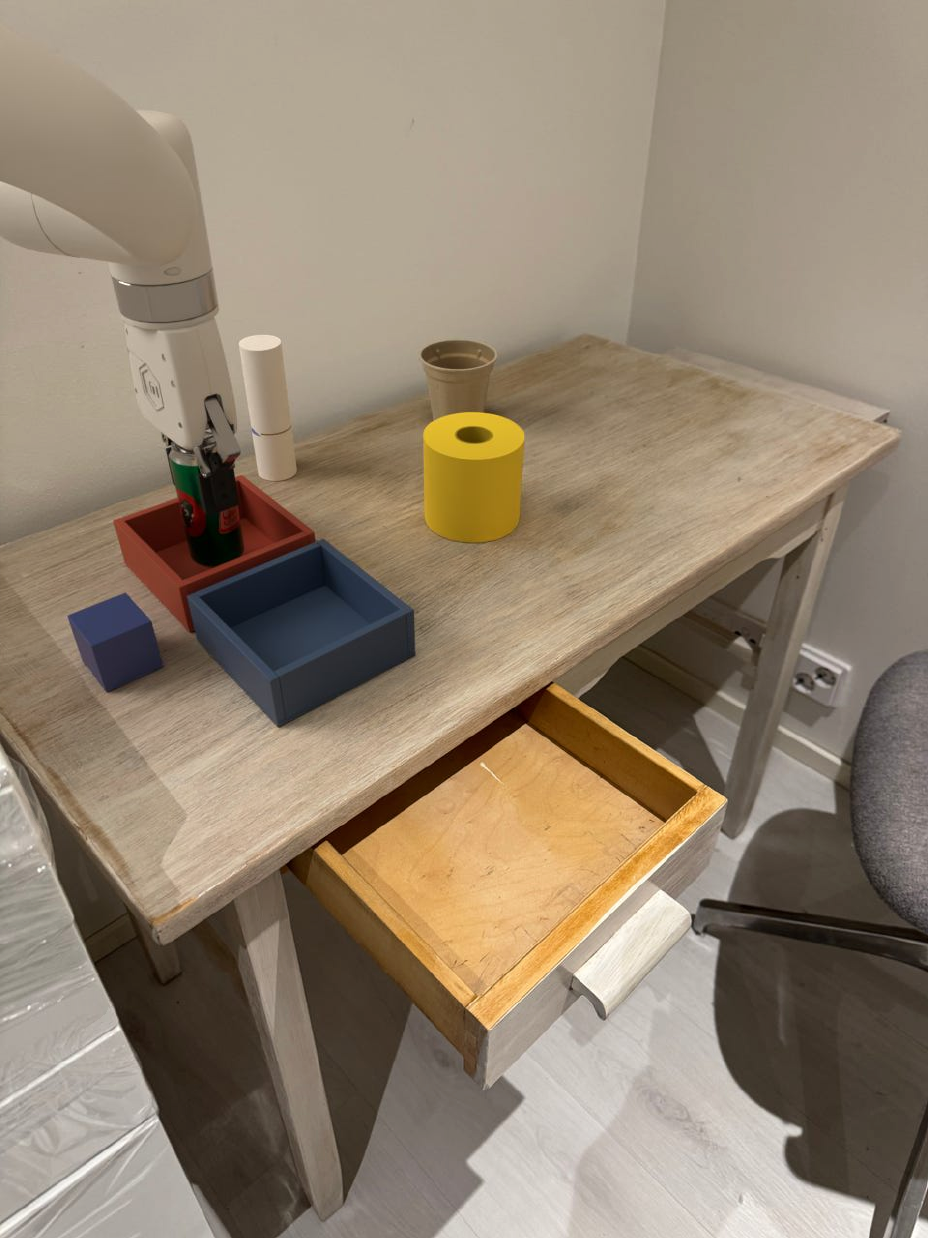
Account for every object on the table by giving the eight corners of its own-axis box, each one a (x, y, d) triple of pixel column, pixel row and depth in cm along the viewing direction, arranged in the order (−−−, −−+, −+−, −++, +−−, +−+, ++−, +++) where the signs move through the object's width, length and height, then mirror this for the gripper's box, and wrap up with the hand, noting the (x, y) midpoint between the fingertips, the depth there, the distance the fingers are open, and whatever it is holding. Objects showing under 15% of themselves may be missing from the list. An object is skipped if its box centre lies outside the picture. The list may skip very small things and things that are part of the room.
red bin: (189, 633, 79) (178, 587, 76) (124, 563, 87) (112, 520, 84) (319, 575, 86) (314, 531, 82) (248, 516, 94) (241, 474, 90)
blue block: (106, 692, 73) (91, 646, 70) (82, 661, 76) (66, 615, 72) (163, 666, 75) (151, 620, 72) (138, 637, 78) (125, 591, 75)
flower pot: (405, 425, 110) (402, 358, 105) (446, 397, 116) (446, 332, 111) (470, 445, 106) (471, 376, 101) (508, 415, 112) (512, 348, 107)
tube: (303, 465, 102) (288, 337, 92) (285, 483, 99) (268, 353, 89) (270, 459, 103) (251, 332, 94) (251, 477, 100) (230, 347, 90)
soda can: (239, 571, 83) (219, 456, 76) (185, 570, 83) (159, 455, 76) (250, 541, 87) (231, 429, 79) (198, 540, 87) (174, 427, 79)
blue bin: (278, 728, 70) (270, 681, 67) (196, 641, 78) (186, 595, 75) (415, 655, 77) (414, 609, 74) (327, 582, 85) (323, 538, 82)
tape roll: (538, 525, 93) (544, 443, 87) (455, 552, 89) (455, 469, 83) (487, 482, 99) (489, 404, 93) (407, 506, 95) (405, 425, 89)
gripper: (76, 275, 73) (127, 472, 84) (171, 338, 63) (213, 552, 74) (163, 257, 76) (200, 448, 88) (265, 314, 66) (292, 521, 78)
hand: (206, 494), depth 81 cm, fingers closed on soda can, 5 cm apart
